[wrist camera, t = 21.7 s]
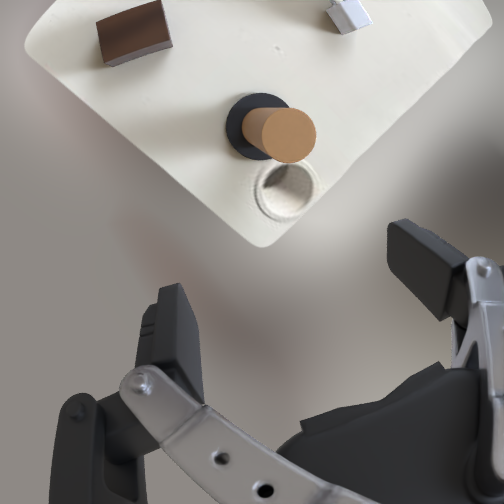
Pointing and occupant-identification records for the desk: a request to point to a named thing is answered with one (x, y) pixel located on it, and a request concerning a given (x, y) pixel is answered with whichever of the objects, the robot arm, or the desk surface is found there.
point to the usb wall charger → (348, 15)
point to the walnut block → (133, 33)
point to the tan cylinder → (280, 133)
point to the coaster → (237, 118)
